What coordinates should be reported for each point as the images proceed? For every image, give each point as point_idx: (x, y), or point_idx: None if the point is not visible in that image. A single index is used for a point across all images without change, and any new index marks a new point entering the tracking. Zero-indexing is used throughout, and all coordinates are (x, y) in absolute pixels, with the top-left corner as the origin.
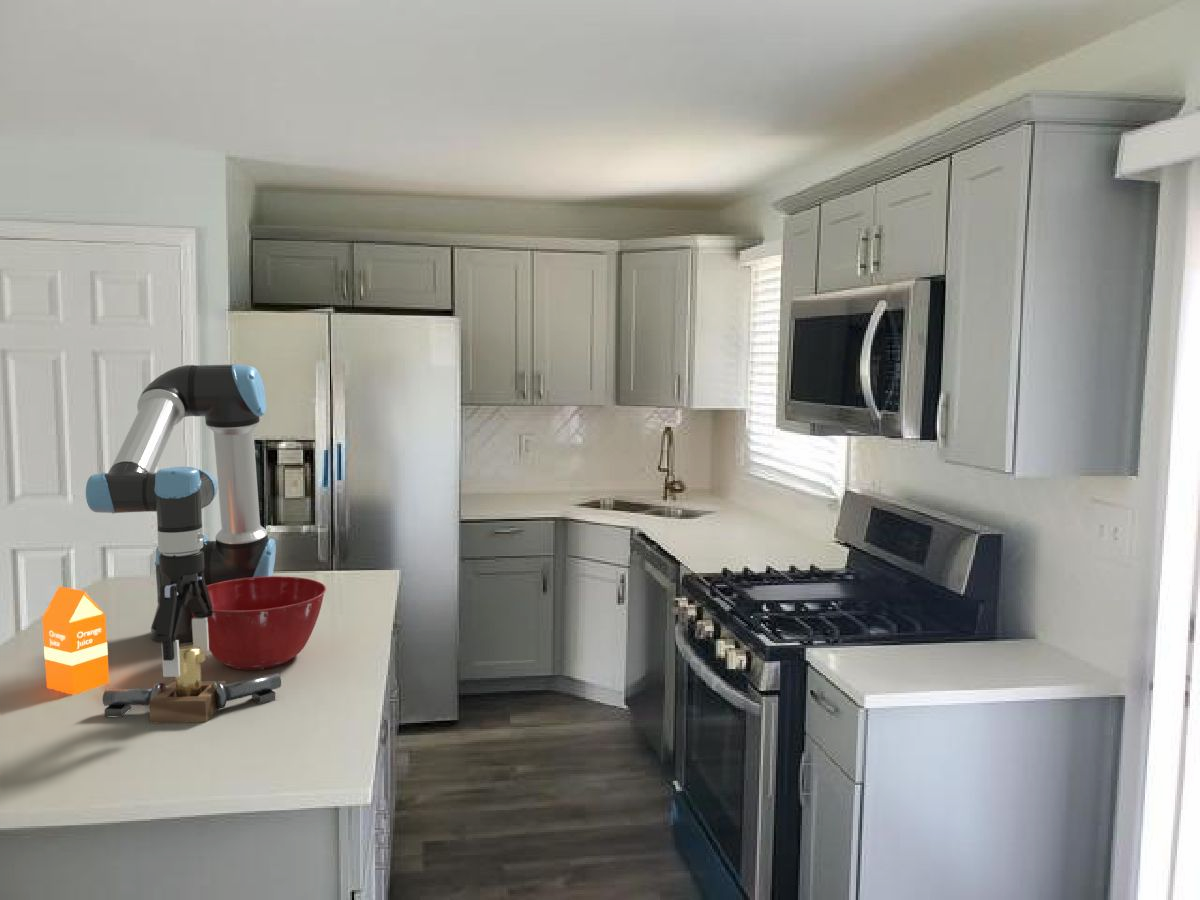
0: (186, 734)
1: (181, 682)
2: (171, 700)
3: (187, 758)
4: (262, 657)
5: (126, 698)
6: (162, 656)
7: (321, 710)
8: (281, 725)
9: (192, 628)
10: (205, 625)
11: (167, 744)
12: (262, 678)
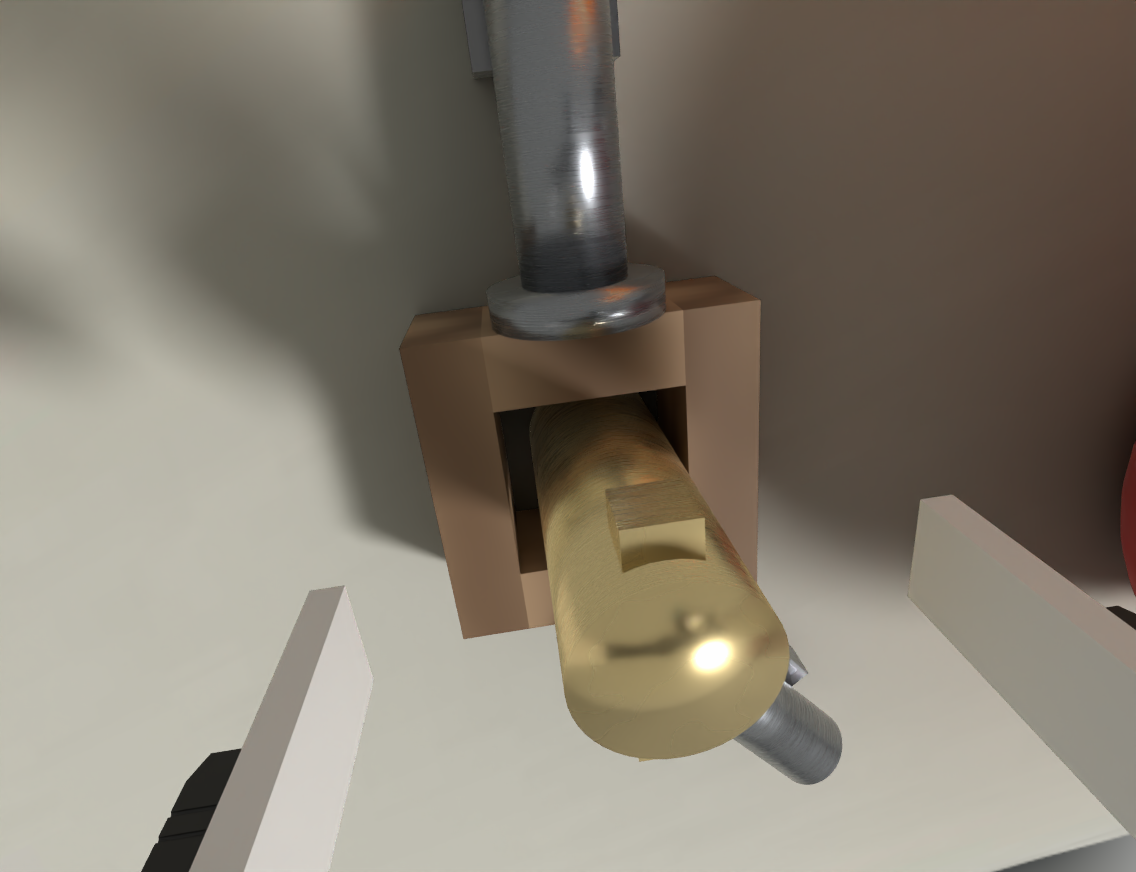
0: (318, 559)
1: (542, 522)
2: (440, 471)
3: (93, 683)
4: (1132, 577)
5: (496, 99)
6: (247, 738)
7: (619, 868)
8: (472, 820)
9: (1091, 642)
10: (1089, 779)
11: (193, 539)
12: (760, 748)
